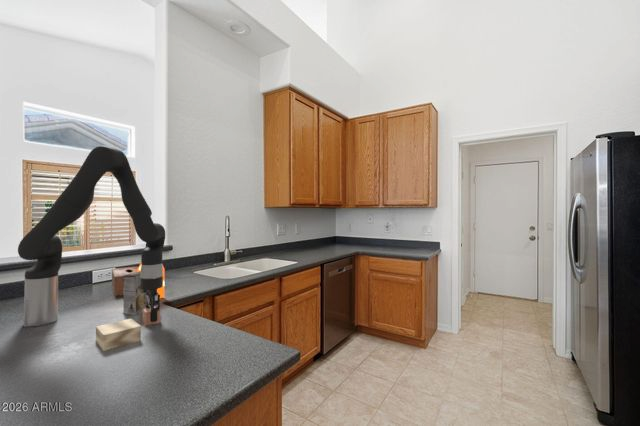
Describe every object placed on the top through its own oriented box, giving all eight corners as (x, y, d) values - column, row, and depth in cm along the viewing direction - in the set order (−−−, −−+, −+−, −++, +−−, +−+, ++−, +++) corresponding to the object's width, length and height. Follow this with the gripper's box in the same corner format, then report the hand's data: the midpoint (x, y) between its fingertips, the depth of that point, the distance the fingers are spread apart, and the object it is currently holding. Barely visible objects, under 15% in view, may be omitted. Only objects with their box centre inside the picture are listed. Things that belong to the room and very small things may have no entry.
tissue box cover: (111, 286, 165) (112, 268, 165) (141, 282, 174) (141, 266, 174) (114, 296, 145) (114, 276, 145) (147, 292, 154) (147, 273, 154)
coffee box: (140, 306, 129) (140, 270, 129) (153, 307, 128) (153, 271, 128) (122, 313, 120) (122, 275, 120) (135, 315, 119) (136, 275, 119)
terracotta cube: (145, 325, 108) (145, 312, 108) (142, 322, 111) (142, 309, 111) (160, 322, 111) (160, 309, 111) (156, 319, 115) (157, 306, 115)
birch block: (103, 351, 88) (103, 335, 88) (95, 341, 95) (95, 326, 95) (140, 341, 95) (140, 325, 95) (131, 332, 102) (131, 318, 102)
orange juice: (164, 298, 143) (164, 257, 143) (147, 303, 135) (147, 259, 135) (153, 296, 146) (154, 256, 146) (136, 300, 138) (136, 258, 138)
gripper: (136, 273, 114) (136, 316, 114) (145, 280, 103) (144, 326, 103) (157, 271, 119) (157, 311, 119) (167, 277, 108) (167, 321, 108)
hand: (151, 318), depth 111 cm, fingers open, 7 cm apart
